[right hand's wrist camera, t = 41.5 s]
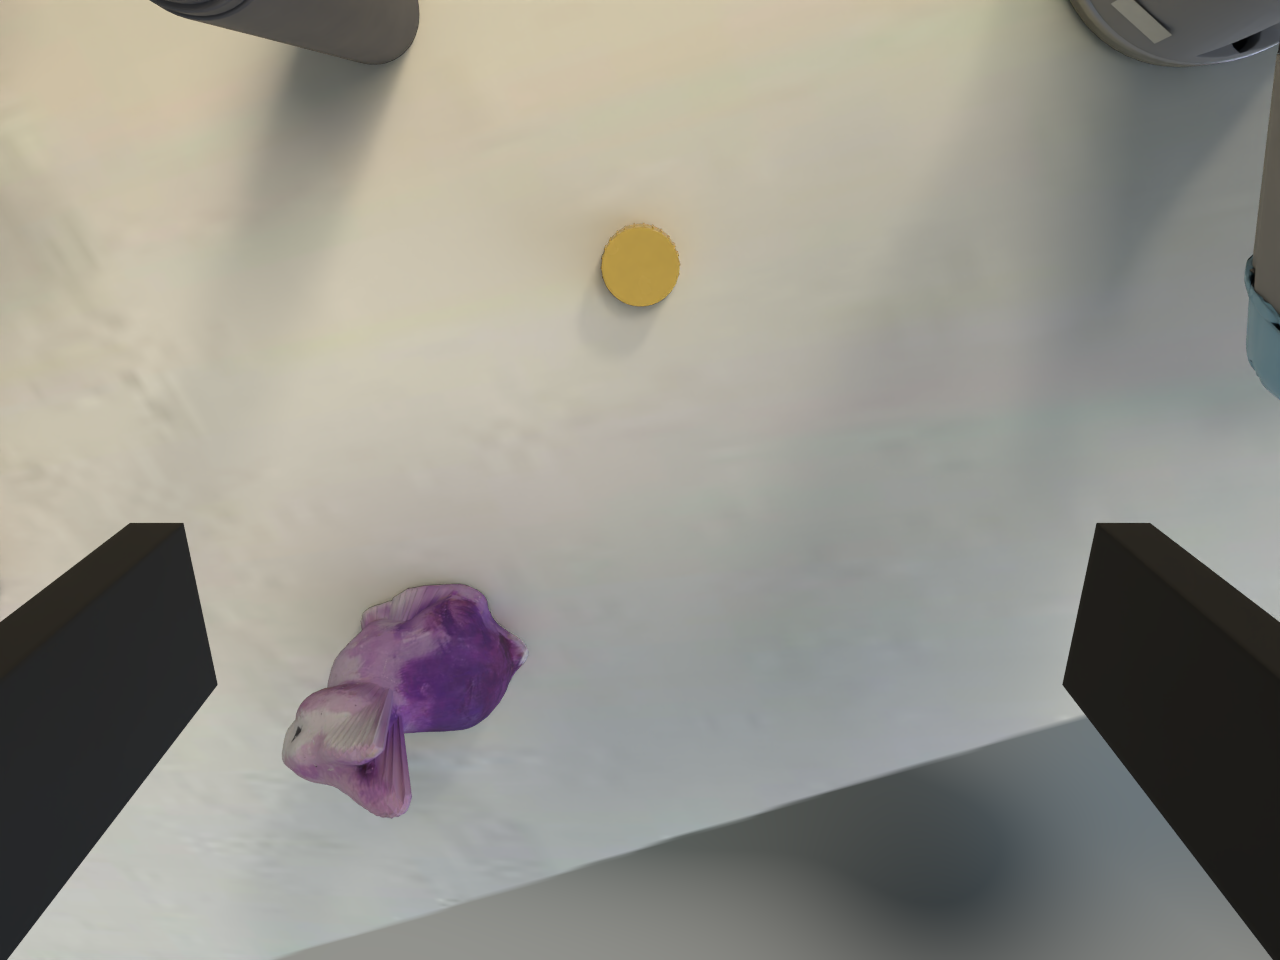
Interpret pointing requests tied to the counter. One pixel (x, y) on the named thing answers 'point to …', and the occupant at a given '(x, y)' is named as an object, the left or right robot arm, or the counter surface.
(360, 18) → the bottle
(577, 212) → the counter surface
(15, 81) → the counter surface
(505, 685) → the figurine
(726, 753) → the counter surface
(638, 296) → the cap
